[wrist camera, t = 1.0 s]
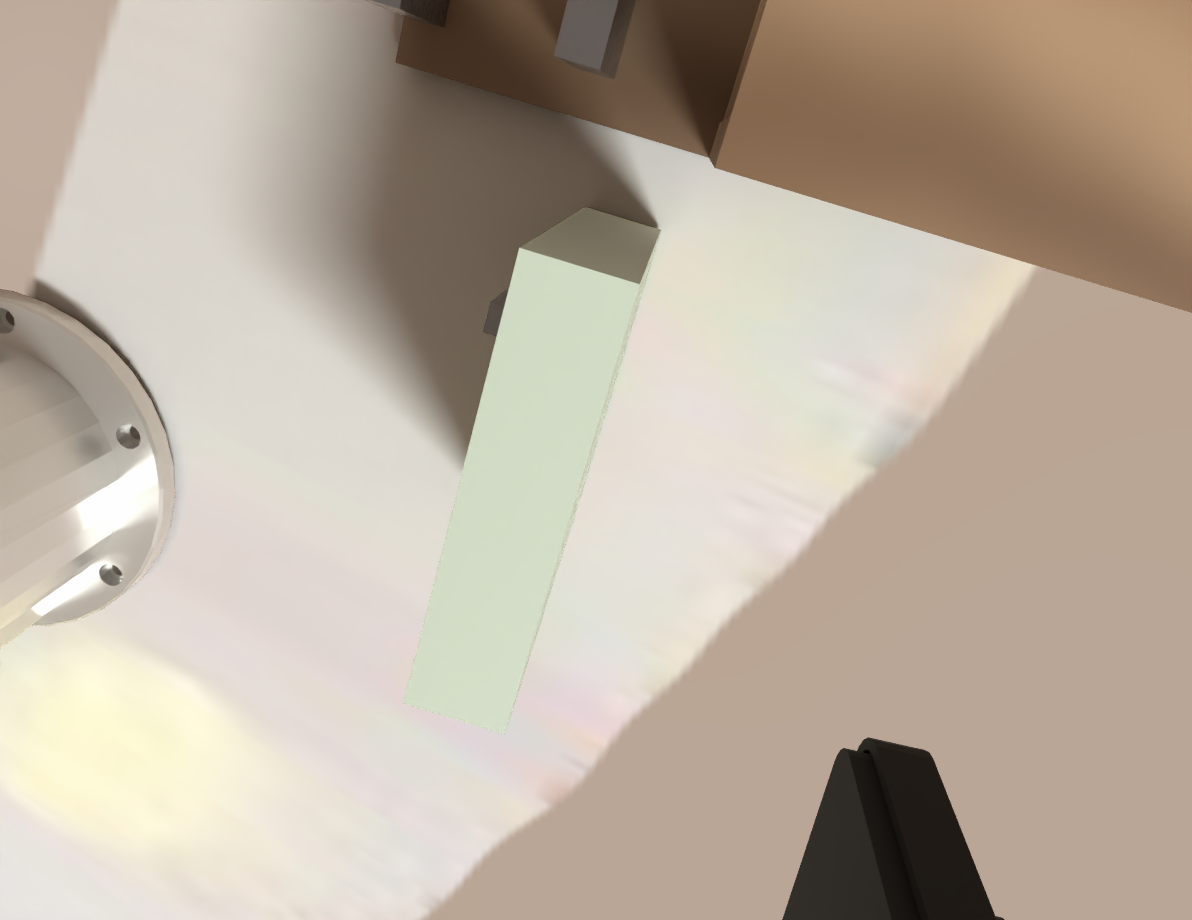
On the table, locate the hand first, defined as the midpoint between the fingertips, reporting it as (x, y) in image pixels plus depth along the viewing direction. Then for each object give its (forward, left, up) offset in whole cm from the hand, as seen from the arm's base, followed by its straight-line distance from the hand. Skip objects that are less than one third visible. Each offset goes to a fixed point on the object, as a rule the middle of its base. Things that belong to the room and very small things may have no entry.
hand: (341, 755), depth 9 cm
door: (-2, 0, -24) cm, 24 cm away
